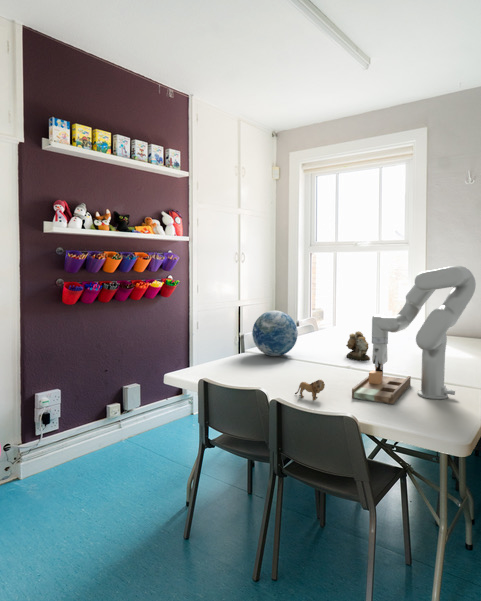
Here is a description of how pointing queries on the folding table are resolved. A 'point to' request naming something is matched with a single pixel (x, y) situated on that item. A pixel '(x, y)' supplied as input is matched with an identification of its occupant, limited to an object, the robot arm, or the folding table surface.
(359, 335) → the brown lumpy sculpture
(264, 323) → the globe
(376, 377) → the block
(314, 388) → the lion figurine
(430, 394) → the robot arm
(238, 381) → the folding table surface
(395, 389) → the box
